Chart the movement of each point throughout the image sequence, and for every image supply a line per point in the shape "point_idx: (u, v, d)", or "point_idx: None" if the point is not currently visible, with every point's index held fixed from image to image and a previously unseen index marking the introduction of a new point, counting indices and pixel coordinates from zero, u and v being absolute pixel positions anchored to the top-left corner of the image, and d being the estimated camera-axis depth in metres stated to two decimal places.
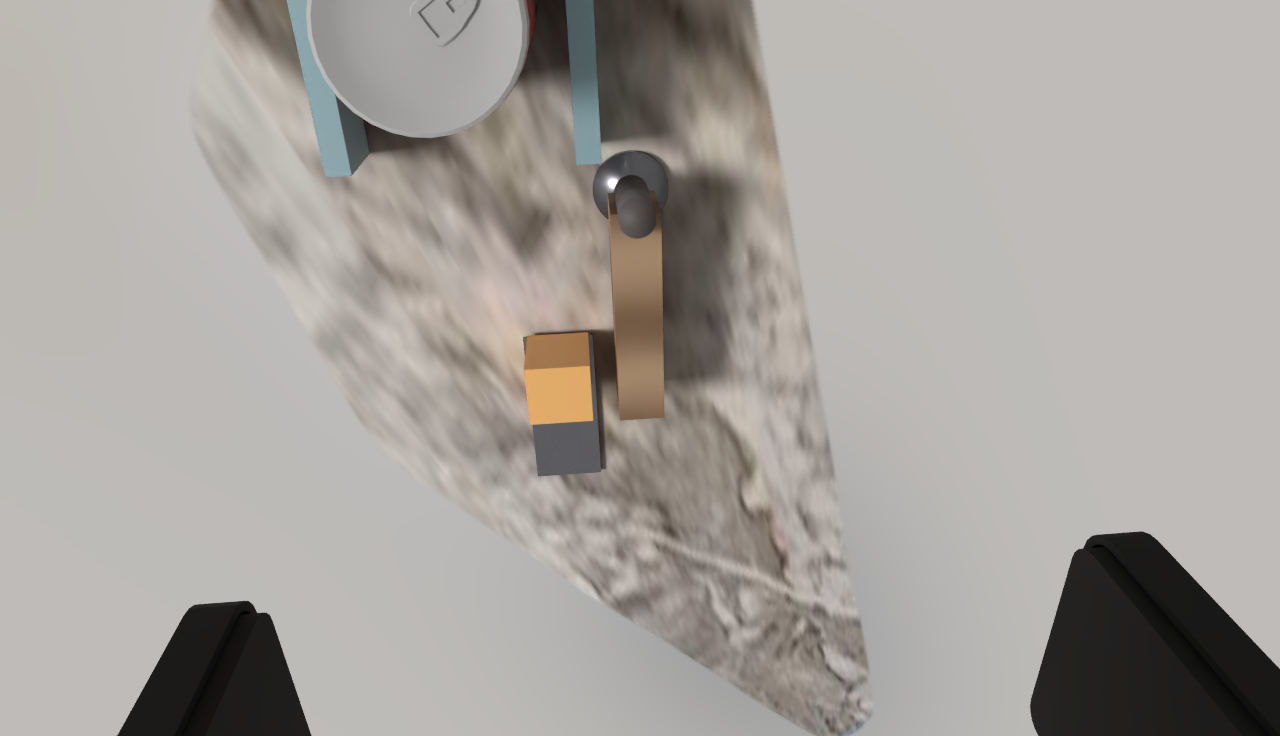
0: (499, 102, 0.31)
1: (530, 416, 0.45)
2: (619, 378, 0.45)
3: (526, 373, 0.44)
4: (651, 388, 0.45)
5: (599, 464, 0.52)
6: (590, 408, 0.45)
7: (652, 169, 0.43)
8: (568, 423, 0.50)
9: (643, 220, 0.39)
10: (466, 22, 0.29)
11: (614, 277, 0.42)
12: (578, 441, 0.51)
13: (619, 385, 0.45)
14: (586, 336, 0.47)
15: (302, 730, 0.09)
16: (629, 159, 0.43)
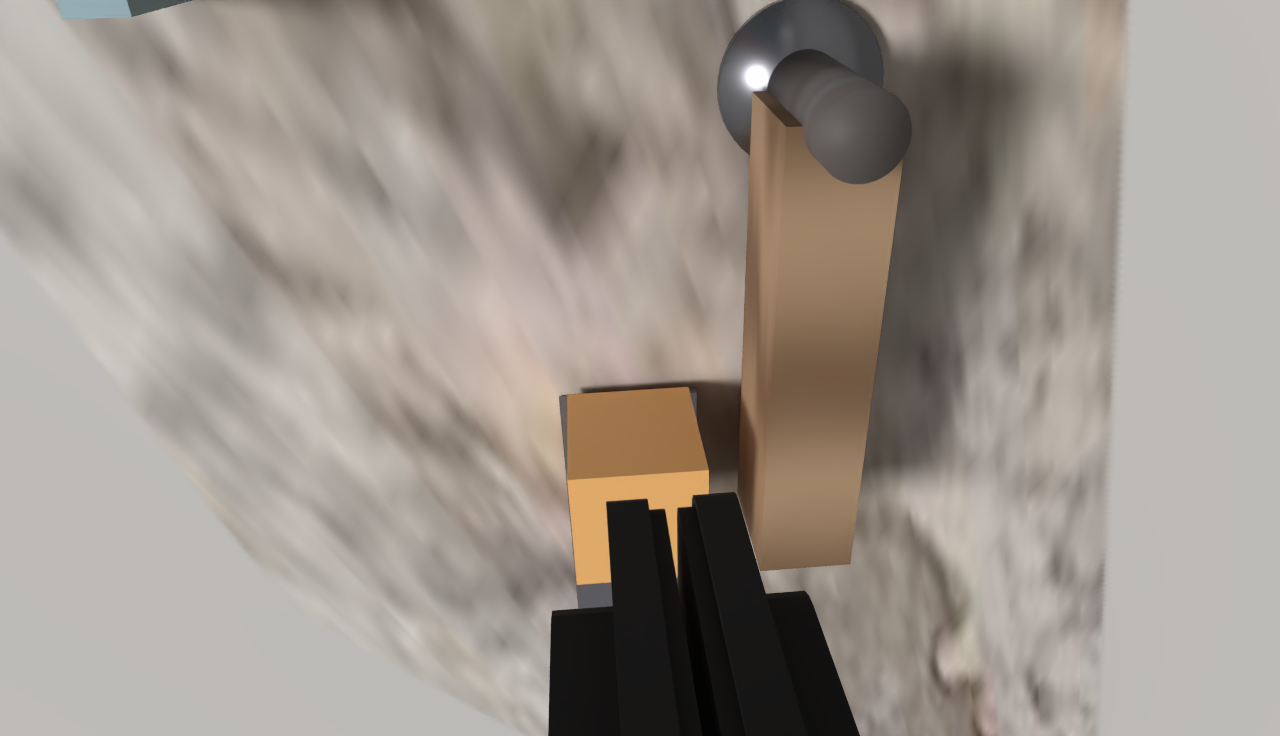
0: None
1: (578, 569, 0.22)
2: (767, 492, 0.21)
3: (572, 487, 0.20)
4: (830, 510, 0.22)
5: None
6: None
7: (852, 38, 0.19)
8: None
9: (879, 137, 0.16)
10: None
11: (779, 279, 0.18)
12: None
13: (766, 505, 0.21)
14: (687, 396, 0.23)
15: None
16: (806, 13, 0.19)
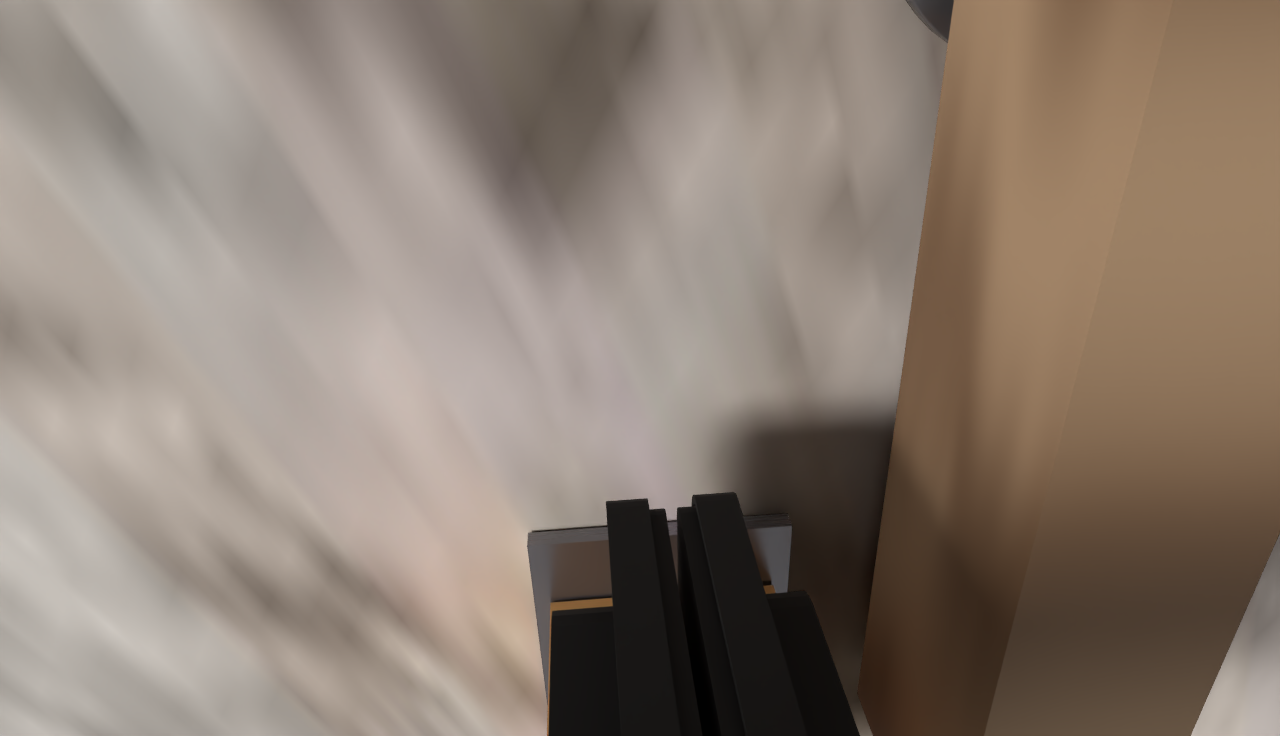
0: None
1: None
2: None
3: None
4: None
5: None
6: None
7: None
8: None
9: None
10: None
11: (1097, 318, 0.07)
12: None
13: None
14: None
15: None
16: None
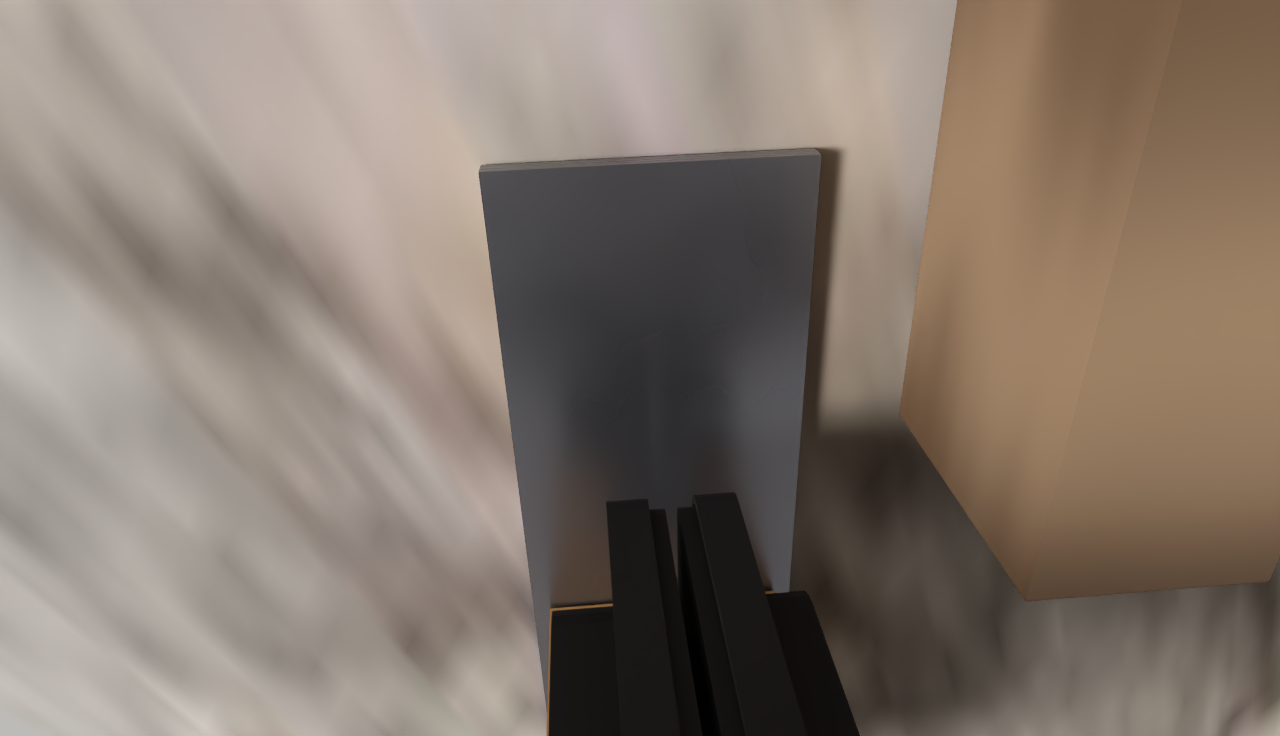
0: None
1: None
2: (1097, 356, 0.07)
3: None
4: (1265, 421, 0.07)
5: None
6: None
7: None
8: (674, 555, 0.12)
9: None
10: None
11: None
12: None
13: (1083, 402, 0.07)
14: None
15: None
16: None
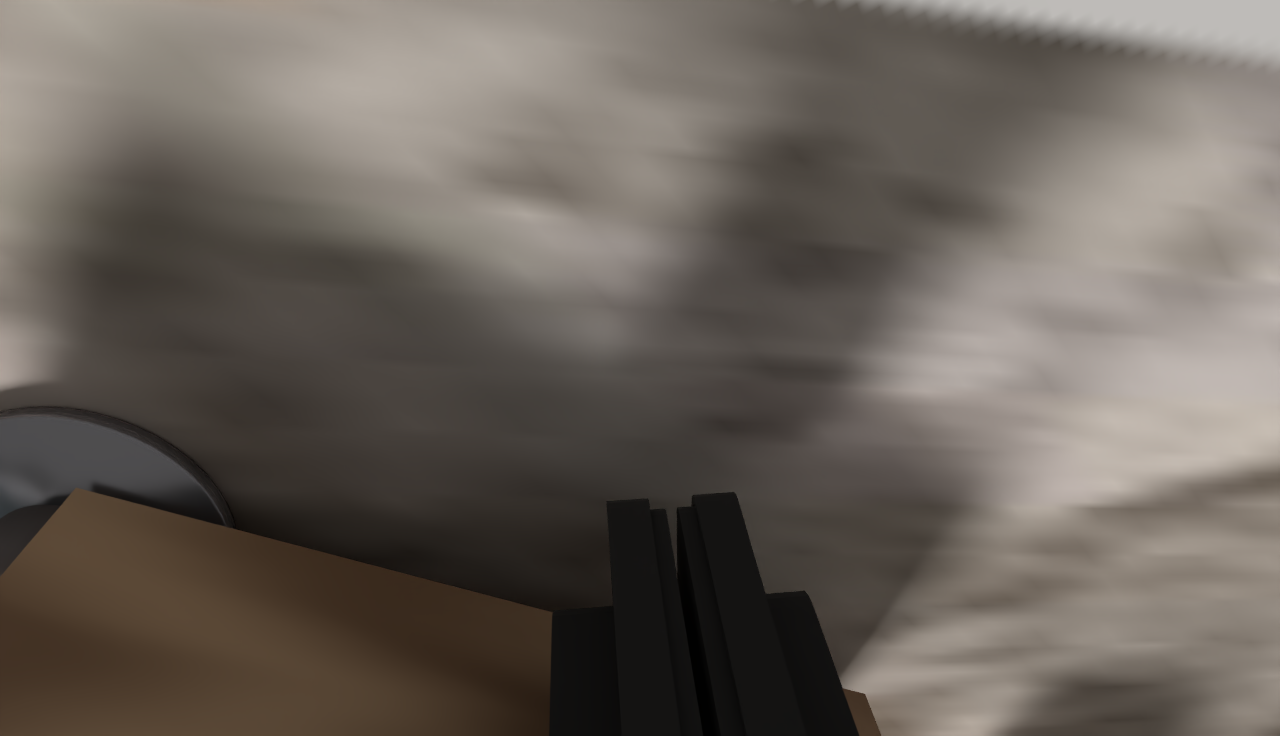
0: None
1: None
2: None
3: None
4: None
5: None
6: None
7: None
8: None
9: None
10: None
11: None
12: None
13: None
14: None
15: None
16: None
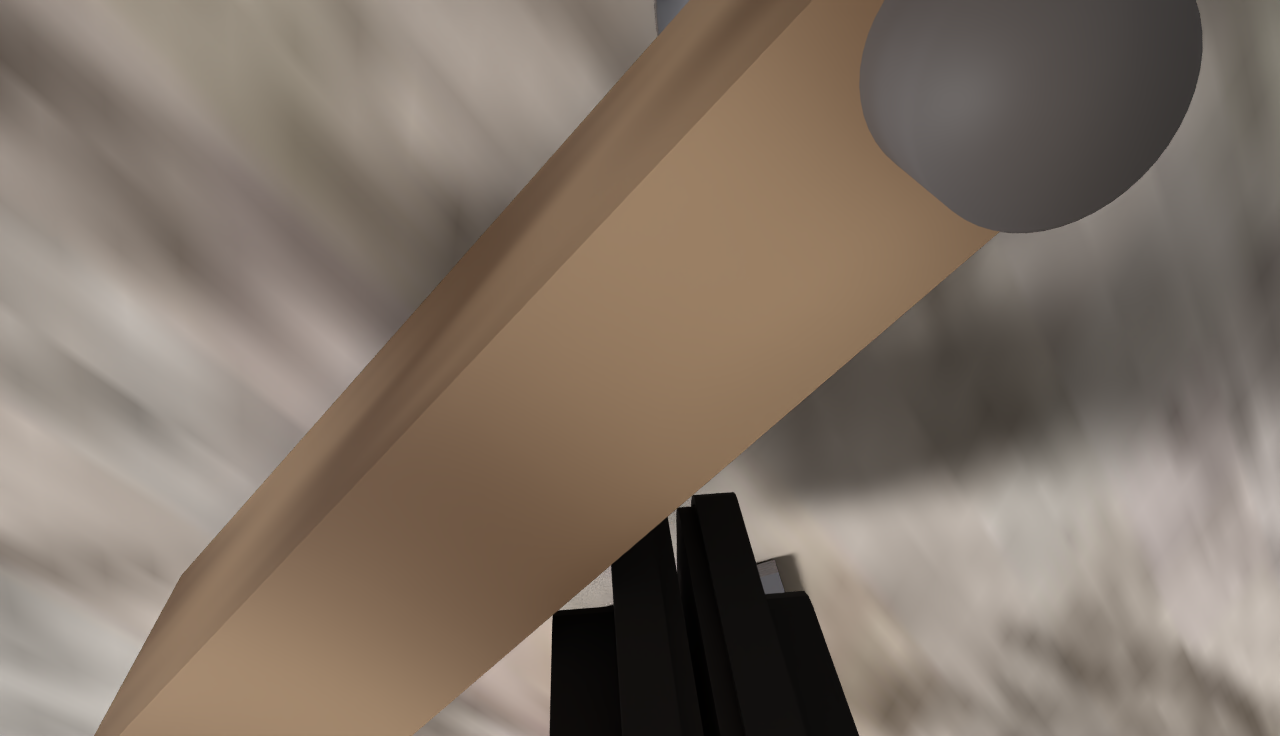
0: None
1: None
2: (187, 672, 0.09)
3: None
4: None
5: None
6: None
7: None
8: None
9: (1080, 127, 0.05)
10: None
11: (560, 276, 0.07)
12: None
13: (164, 694, 0.09)
14: None
15: None
16: None
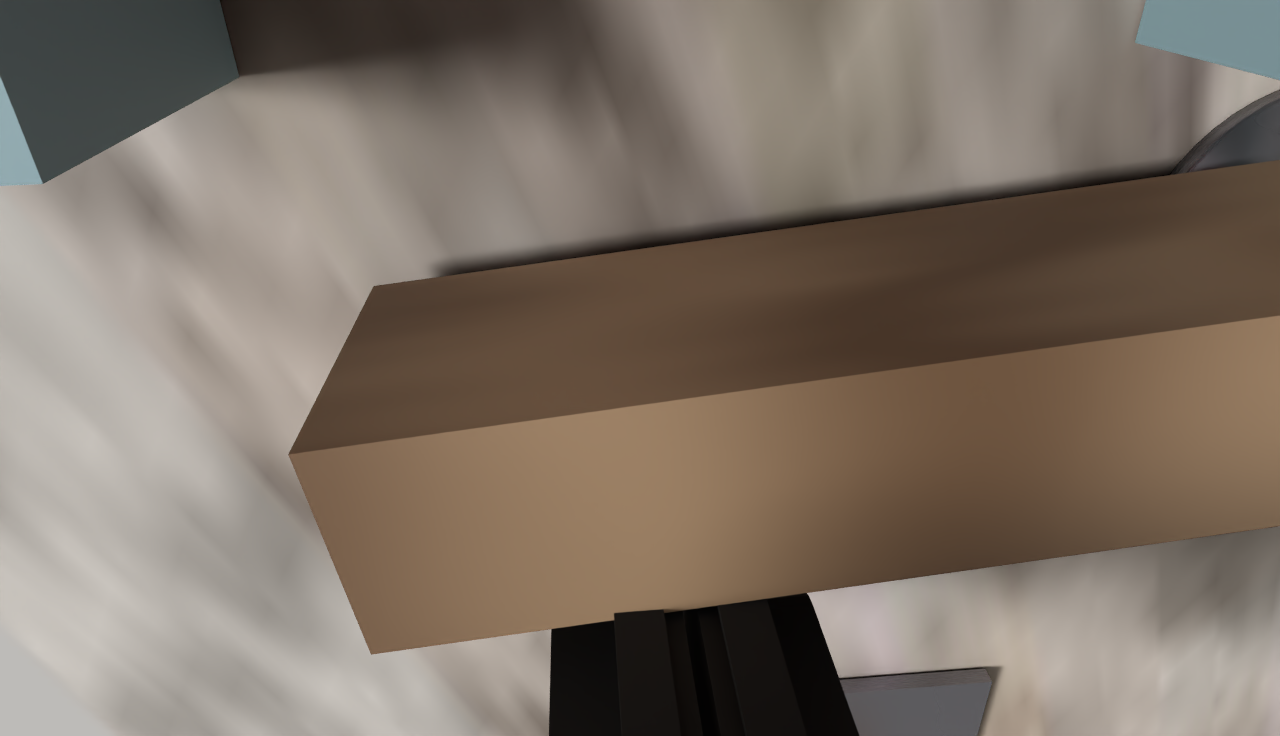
0: None
1: None
2: (604, 417, 0.07)
3: None
4: (549, 575, 0.08)
5: None
6: None
7: None
8: None
9: None
10: None
11: None
12: None
13: (553, 422, 0.07)
14: None
15: None
16: None
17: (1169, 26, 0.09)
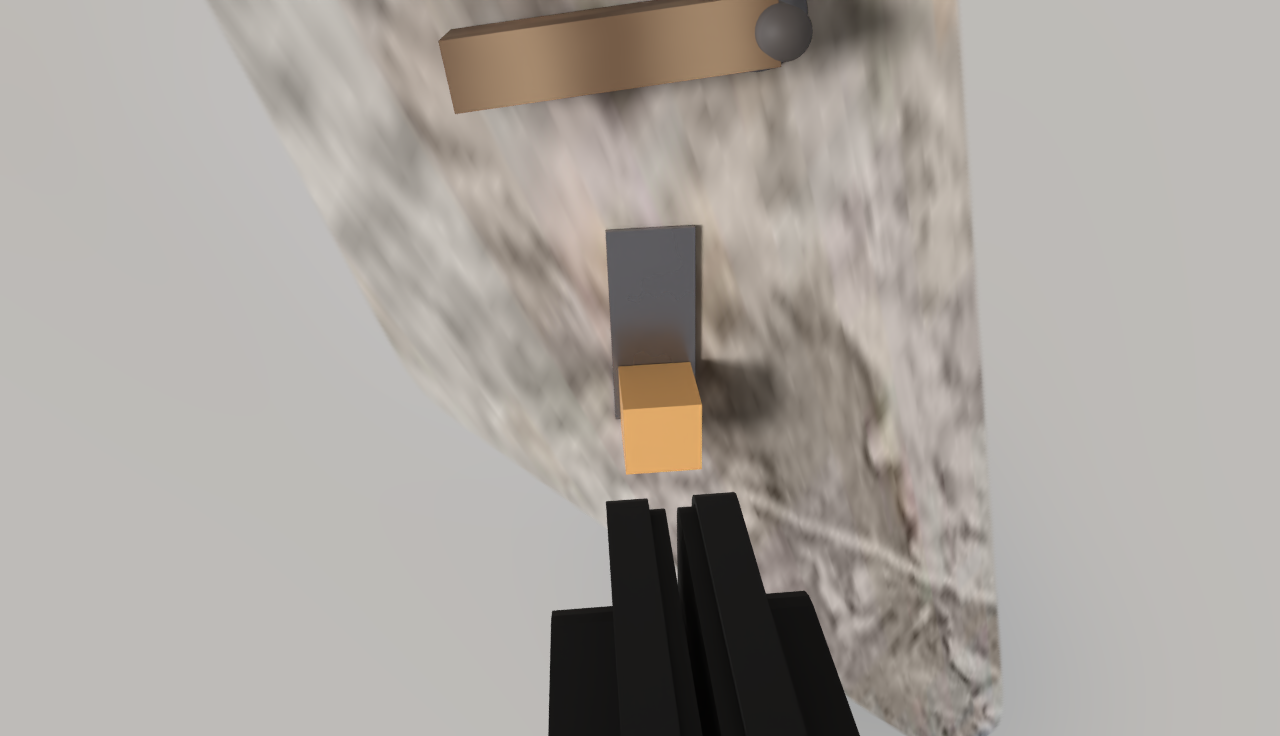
0: None
1: (627, 464, 0.38)
2: (515, 32, 0.29)
3: (625, 413, 0.36)
4: (504, 86, 0.30)
5: None
6: (699, 454, 0.38)
7: None
8: (657, 348, 0.39)
9: (787, 42, 0.28)
10: None
11: (684, 7, 0.29)
12: None
13: (503, 33, 0.29)
14: (689, 367, 0.39)
15: None
16: None
17: None
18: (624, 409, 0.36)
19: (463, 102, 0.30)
